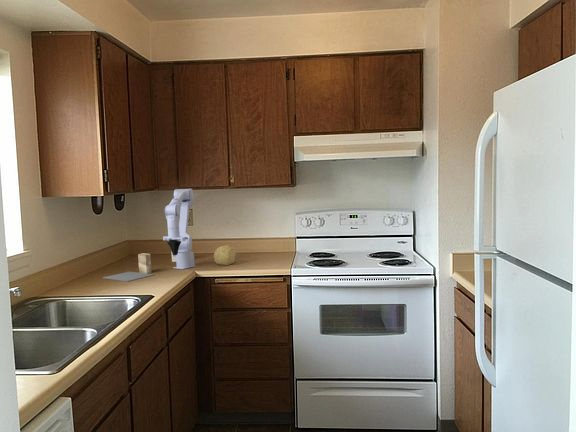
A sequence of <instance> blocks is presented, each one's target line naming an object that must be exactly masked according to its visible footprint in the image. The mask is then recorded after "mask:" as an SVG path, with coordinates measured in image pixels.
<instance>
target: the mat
mask: <svg viewBox="0 0 576 432" xmlns="http://www.w3.org/2000/svg"><path fill="white" fill-rule="evenodd" d="M153 276H155V274H154V273H149V274H145V273H139V272H135V271H125V272H122V273H118V274H112V275H108V276H103V277H102V279H105V280H106V279H107V280H113V281H119V282H120V281H121V282H132V281H136V280H140V279H144V278H148V277H153Z"/></svg>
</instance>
